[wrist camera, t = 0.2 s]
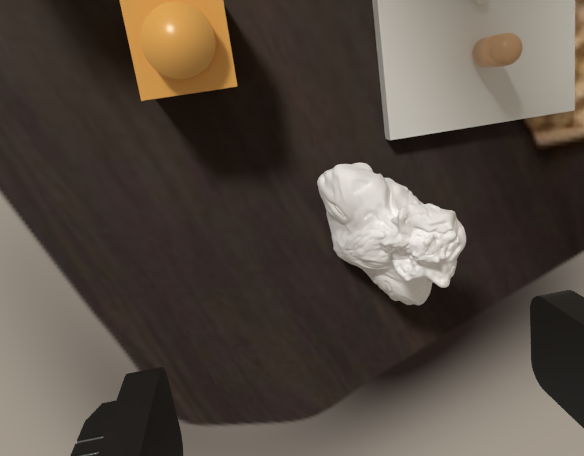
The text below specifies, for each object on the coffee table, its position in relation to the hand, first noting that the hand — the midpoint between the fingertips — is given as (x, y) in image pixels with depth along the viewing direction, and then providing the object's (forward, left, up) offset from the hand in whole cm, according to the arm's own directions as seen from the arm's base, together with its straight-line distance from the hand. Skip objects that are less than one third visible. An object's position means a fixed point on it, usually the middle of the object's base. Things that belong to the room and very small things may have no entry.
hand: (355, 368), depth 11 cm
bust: (+5, +7, -28) cm, 30 cm away
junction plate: (-8, +16, -28) cm, 33 cm away
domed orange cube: (-9, -4, -28) cm, 30 cm away
